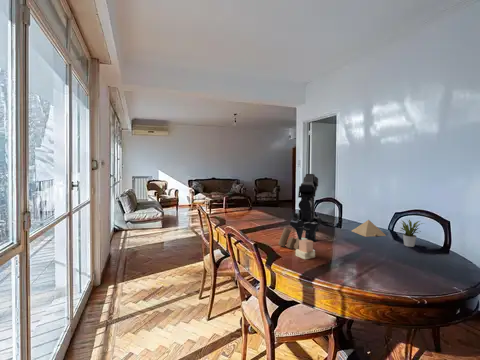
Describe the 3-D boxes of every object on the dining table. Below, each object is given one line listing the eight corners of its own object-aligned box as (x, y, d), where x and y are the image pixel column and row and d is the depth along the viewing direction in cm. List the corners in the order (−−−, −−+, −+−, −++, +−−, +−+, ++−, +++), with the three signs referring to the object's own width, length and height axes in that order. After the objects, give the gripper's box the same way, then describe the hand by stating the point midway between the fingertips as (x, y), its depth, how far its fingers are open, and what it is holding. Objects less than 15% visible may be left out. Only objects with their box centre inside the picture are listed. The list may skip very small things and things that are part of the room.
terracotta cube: (305, 248, 152) (305, 239, 151) (312, 250, 148) (313, 241, 147) (299, 249, 149) (299, 240, 149) (306, 252, 145) (306, 242, 144)
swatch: (306, 248, 163) (306, 247, 163) (315, 250, 158) (315, 249, 158) (299, 249, 159) (299, 249, 159) (308, 252, 154) (308, 251, 154)
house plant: (428, 245, 170) (429, 218, 169) (423, 250, 160) (424, 222, 159) (401, 241, 180) (402, 215, 178) (395, 245, 169) (396, 218, 168)
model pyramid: (365, 237, 189) (366, 222, 188) (350, 231, 205) (350, 217, 205) (387, 236, 192) (388, 221, 191) (370, 230, 209) (371, 217, 208)
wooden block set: (302, 254, 159) (308, 237, 160) (291, 250, 154) (297, 232, 155) (281, 245, 174) (288, 229, 175) (271, 241, 170) (277, 225, 171)
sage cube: (299, 245, 168) (299, 237, 168) (306, 247, 165) (307, 238, 165) (295, 247, 164) (295, 238, 164) (303, 249, 161) (303, 240, 161)
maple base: (305, 254, 153) (305, 247, 153) (314, 257, 147) (315, 251, 147) (295, 256, 150) (295, 249, 150) (304, 260, 144) (304, 253, 144)
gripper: (305, 204, 159) (305, 232, 160) (282, 207, 147) (281, 237, 148) (322, 207, 150) (321, 236, 151) (298, 210, 139) (298, 242, 139)
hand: (305, 238), depth 148 cm, fingers open, 9 cm apart
